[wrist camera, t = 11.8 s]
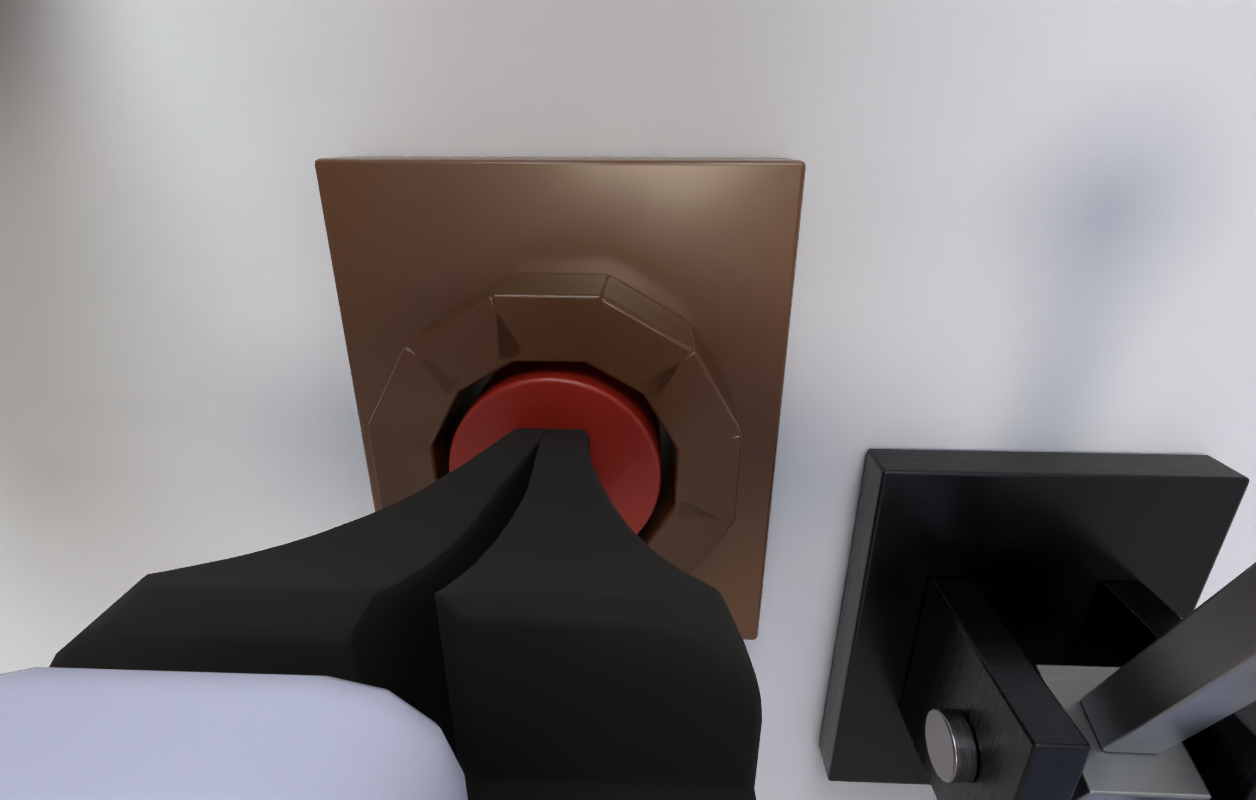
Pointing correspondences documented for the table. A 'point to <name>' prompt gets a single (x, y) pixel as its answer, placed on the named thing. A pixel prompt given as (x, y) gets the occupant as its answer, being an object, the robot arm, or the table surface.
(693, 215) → the button block
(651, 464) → the button
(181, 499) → the table surface
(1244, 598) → the lever
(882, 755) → the bracket
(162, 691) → the robot arm
